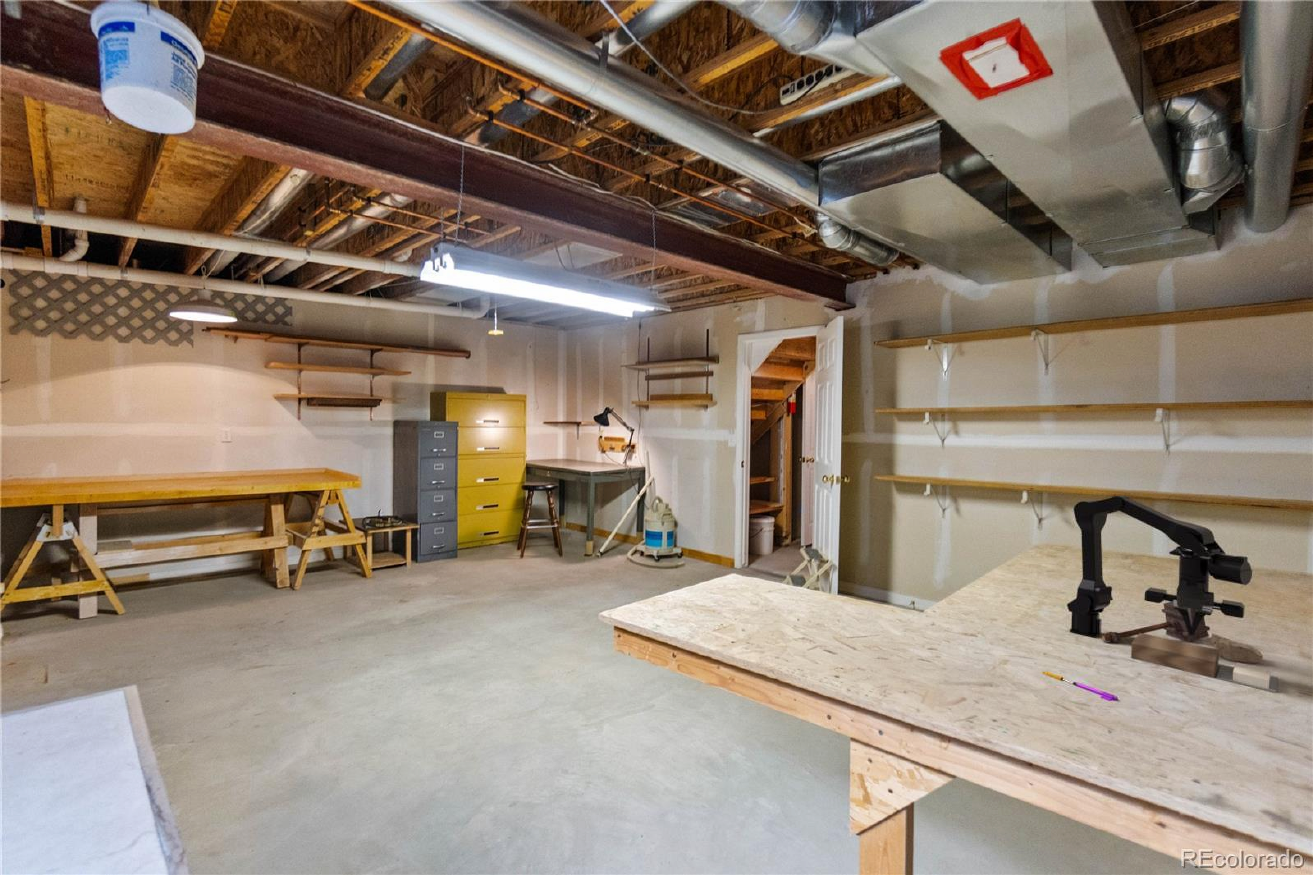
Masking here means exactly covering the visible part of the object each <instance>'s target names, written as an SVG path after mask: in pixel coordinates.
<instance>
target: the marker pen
mask: <svg viewBox="0 0 1313 875" xmlns="http://www.w3.org/2000/svg"><path fill="white" fill-rule="evenodd" d="M1041 674H1043V675H1046V676H1048V677H1051V678H1054V679H1055V680H1059V681H1064V682H1068V683H1070V684H1072V685H1073V686H1075V687H1078V688H1081V689H1083V690H1086V691H1088V692H1091V693H1094V694H1097V695H1099V696H1100V699H1102V700H1105V701H1108V702H1110V701H1118V699H1119V698H1118V696H1116V695H1115V694H1112V693H1108V692H1106V691H1103V690H1100V689H1097V688H1094V687H1091V686H1089V685H1085V684H1083V683H1079V682H1075V681H1069V680H1066V679H1064V676H1061V675H1059V674H1055V673H1051V672H1049V671H1042V672H1041Z"/></svg>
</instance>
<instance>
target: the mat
mask: <svg viewBox="0 0 1313 875" xmlns="http://www.w3.org/2000/svg"><path fill="white" fill-rule="evenodd" d="M1234 668H1235V666H1234V667H1233V666H1230V665H1225V664H1220V667H1219V669H1218V673H1217V675H1216V679H1217V680H1221V681H1225V682H1229V683H1234V684H1238V685H1242V686H1245V687H1251V688H1254V689H1259V690H1262V691H1267V692H1270V693H1275V694H1276V693H1277V688H1278V686H1277V685H1278V677H1277V676H1273V675H1271V679H1270V684H1269V689H1267V688H1263V687H1259V686H1255V685H1251V684H1247V683H1243V682H1238V681H1234V680H1233V671H1234Z"/></svg>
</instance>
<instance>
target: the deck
mask: <svg viewBox="0 0 1313 875" xmlns="http://www.w3.org/2000/svg"><path fill="white" fill-rule="evenodd" d="M1130 650H1131V655H1130V659H1134V660H1139V661H1142V662H1146V663H1151V664H1154V665H1158V666H1164V667H1166V668H1167V667H1168V668H1172V669H1176V670H1180V671H1185V672H1189V673H1191V674H1196V675H1200V676H1204V677H1208V678H1213V679H1214V678H1215V676H1216V673H1217V671H1218V667H1219V660H1220V659H1219V656H1220V654H1219V650H1217V649H1215V648H1214V647H1213V648H1212V647H1207V646H1204V645H1198V644H1193V643H1190V642H1186V641H1181V640H1175V639H1170V638H1166V637H1161V636H1157V635H1151V634H1148V633H1139V635H1136V637H1135V639H1134V640H1133V641H1132V642H1131V649H1130Z"/></svg>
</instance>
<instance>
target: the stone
mask: <svg viewBox="0 0 1313 875" xmlns="http://www.w3.org/2000/svg"><path fill="white" fill-rule="evenodd" d="M1210 639H1211V641H1212V645H1213V648H1214V649H1217V650H1219V656H1220V657H1222V658H1224V659H1225V660H1228V661H1232V662H1239V663H1241V662H1242V663H1246V664H1254V663H1255V664H1256V663H1259V662H1261V661H1262V660H1263V658H1264V657H1263V654H1261V651H1260V650H1259V649H1258V648H1255V647H1253V646H1252V645H1249V644H1244V643H1242V642H1238V641H1236V640H1233V639H1230V638H1226V637H1224V636H1221V635H1218V634H1216V633H1211V638H1210Z"/></svg>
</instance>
